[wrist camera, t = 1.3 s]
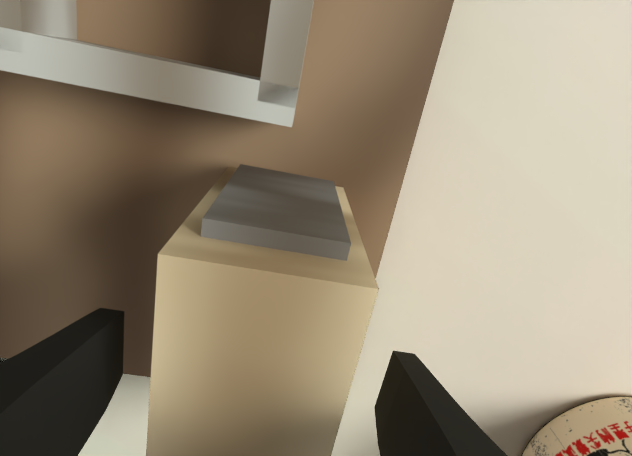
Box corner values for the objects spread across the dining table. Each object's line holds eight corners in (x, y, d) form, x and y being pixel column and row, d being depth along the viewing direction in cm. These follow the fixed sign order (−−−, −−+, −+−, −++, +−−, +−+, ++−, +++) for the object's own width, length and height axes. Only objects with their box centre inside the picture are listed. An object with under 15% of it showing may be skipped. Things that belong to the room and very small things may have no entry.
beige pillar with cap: (206, 355, 16) (141, 543, 10) (230, 154, 13) (158, 233, 7) (301, 368, 17) (301, 558, 10) (345, 176, 14) (384, 270, 7)
